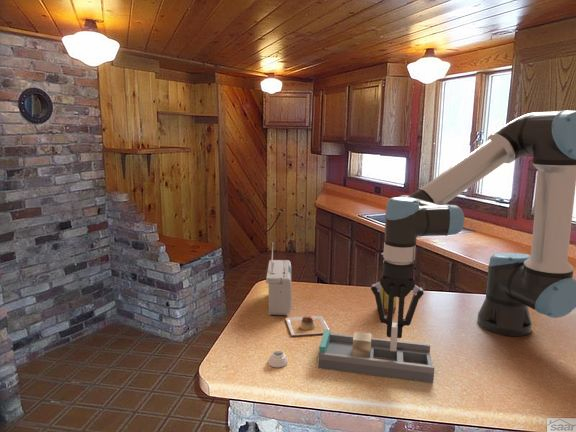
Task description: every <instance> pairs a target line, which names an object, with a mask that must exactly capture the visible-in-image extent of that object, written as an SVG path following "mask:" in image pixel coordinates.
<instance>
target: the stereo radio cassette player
mask: <svg viewBox="0 0 576 432" xmlns="http://www.w3.org/2000/svg"><path fill="white" fill-rule="evenodd" d="M271 244H272V247H271V259H270V260H268V266H267V272H266V279H265V283H266V284H268V314H269V315H270V316H273V315H275V316H288V315H290V314H291V310H292V308H291V307H292V305H291V304H292V264H291V263H292V262H291V261H290V260H289V259H274V242H272V243H271Z"/></svg>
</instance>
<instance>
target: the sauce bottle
mask: <svg viewBox="0 0 576 432" xmlns="http://www.w3.org/2000/svg"><path fill="white" fill-rule="evenodd" d="M383 254H384V251H383V252H381V253H380V258H381V259H380V260H381V264H380V268H379V269H378V271H377V280H376V281H377V282H376V283H378V282H380V279H381V277H382V272H383V261H384V260H385V259H384V257H383ZM380 294H381V299H382V304H383V309H384V314H388V299H389V295H387V293H386V292H385V290H384V289H383V287H382V286H381V291H380ZM396 308H397V297H394V302H393V313H395V312H396V310H397V309H396Z"/></svg>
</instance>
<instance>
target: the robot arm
mask: <svg viewBox="0 0 576 432" xmlns="http://www.w3.org/2000/svg"><path fill="white" fill-rule="evenodd" d="M526 156H532V163H531V164H532V165H533V166H534V168H535V169H536V170H537V179H536V192H535V193H536V194H535V204H534V205H535V206H534V215H533V226H532V227H533V228H532V239H531V247H530V248H531V249H530V254H527V253H521V252H519V253H518V252H498V253H497V252H496V253H494V254H492V255H491V256H490V258H489V263H488V265H487V279H486V280H487V281H486V291H485V292H486V293H485V299H484V301H483V303H482V305H481V307H480V309H479V311H478V312H477V320H476V321H477V324H479V326H480V327H482V328H483V329H485V330H487V331H489V332H492V333H496V334H499V335H503V336H510V337H523V336H524V337H525V336H527V335H529V334H530V333H531V332H532V328H533V327H532V325H533V323H532V322H533V321H532V319H531V314H530V311H529V308H531V309H532V310H534V311H536V312H537V313H538V314H540V315H541V314H542V315H544V316H547V317H549V318H553V319H557V318H558V319H559V318H562V317H565V316H567V315H569V314H570V313H572V312H573V310H575V309H576V278H575V279H574V276H573V275H574V267H573V265H572V264H571V263H570V262H569V261H568V258H569V249H570V243H571V242H570V241H571V232H572V231H571V230H572V222H573V214H574V204H575V194H576V110H571V109H567V110H566V109H565V110H555V111H554V110H553V111H552V110H551V111H535V112H530V113H526V114H523V115H521V116H519V117H516V118H515V119H513V120H511V121H509V122H508V123H506V124H504V125H502V127H500V128H499V129H497V130H496V131H494V132H492V133H491V134H489V136H488V137H487V139H486V142H485V143H483V144H482V145H479V147H477V148H476V149H475V150H473V151H472V152H471V153H469V154H467V155H466V156H465V157H463V158H462V159H460V160H458V161H457V162H456V163H455V164H453V165H451V166H450V167H449V168H448V169H445V171H443V172H442V173H441V174H439V175H438V176H436V177H435V178H433V179H432V180H430V181H429V182H428V183H426V184H425V185H423V186H422V187H420V188H419V189H417V190H416V191H414V192H413V193H411V194H410V195H409V194H403V195H399V196H397V197H391V198H389V199H388V200H387V202H386V207H385V216H384V217H385V220H384V221H385V222H384V239H383V240H384V243H383V252H384V254H383V257H384V259H385V260H384V261H383V272H382V277H381V279H380V282H378V283H377V282H376V283H375V282H374V283H371V287H370V290H371V292H372V293H373V295H374V297H375V298H374V299H375V302H376V308H377V311H378V312H377V313H378V317H379V323H382V324H385V325H386V337H387V338H390V340H391V341H390V351H396V348H397V340H398V339H402V338H403V337H402V336H403V328H404V327H405V326H408V327H409V326H411V323H412V320H413V317H414V316H415V315H414V314H415V312H416V308H417V305H418V303H419V300H420V299H421V298H422V297H423V295H424V294H425V293H424V288H423V287H421V286H420V287H419V286H418V285H416V282H415V279H414V276H415V275H414V274H415V263H414V261H415V260H416V245H417V238H418V237H434V236H445V237H447V236H450V235H452V236H453V235H457V234H459V233H460V232H461V231H462V230H463V228H464V226H465V214H464V211H463V210H462V208H461V207H460V206H458V205H457V204H448V203H449V202H450V201H452V200H453V199H455V198H456V197H458V196H459V195H460V194H462V193H463V192H465V191H466V190H467V189H469V188H470V187H472V186H473V185H474V184H476V183H478V182H479V181H480V180H482V179H484V178H485V177H486V176H487V175H489V174H490V173H492V172H493V171H495V170H496V169H498V168H499V167H501V166H502V165H503V164H511V163H512V162H514V161H516V160H517V159H519V158H522V157H526ZM381 286H382V287H383V289H384V290H385V292H386V293H387V295H389V299H388V313H387V316H386V313H384V309H383V304H382V299H381V294H380V291H381ZM410 292H412V298H411V300H410V303H409V307H408V308H407V312H406V315H405V317H404V312H405V311H404V310H405V300H406V299H405V298H406V297H407V296H408V295H409V294H410ZM394 297H396V298H398V308H397V309H398V310H397V322H393V315H394V312H393V302H394Z"/></svg>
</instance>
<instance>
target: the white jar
mask: <svg viewBox="0 0 576 432" xmlns="http://www.w3.org/2000/svg"><path fill="white" fill-rule="evenodd" d="M267 361H268V362H267V363H268V365H269V366H270V367H273V368H283V367H285V366H287V365H288V364H289V363H288V361H289V360H288V358H287V357H286V354H285V353H284V351H282V350H278V349H277V350H274V351H272V353H271V354H270V357H269V358H268V360H267Z"/></svg>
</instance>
